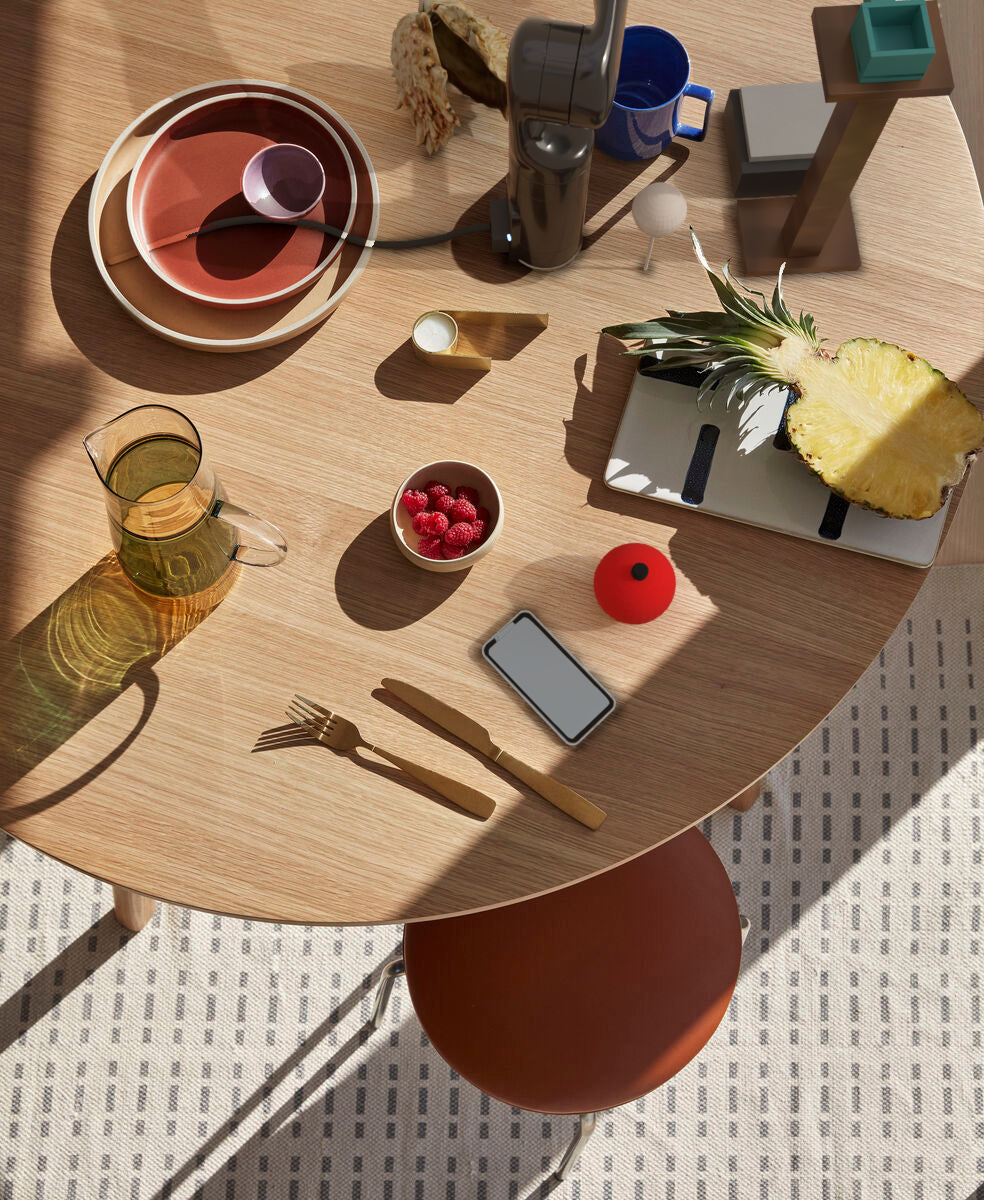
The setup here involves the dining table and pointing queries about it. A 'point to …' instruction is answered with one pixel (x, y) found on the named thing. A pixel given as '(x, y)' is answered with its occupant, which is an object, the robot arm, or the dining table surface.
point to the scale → (773, 136)
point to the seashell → (447, 66)
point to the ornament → (634, 583)
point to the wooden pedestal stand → (833, 157)
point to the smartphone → (548, 677)
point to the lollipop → (658, 212)
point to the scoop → (892, 40)
